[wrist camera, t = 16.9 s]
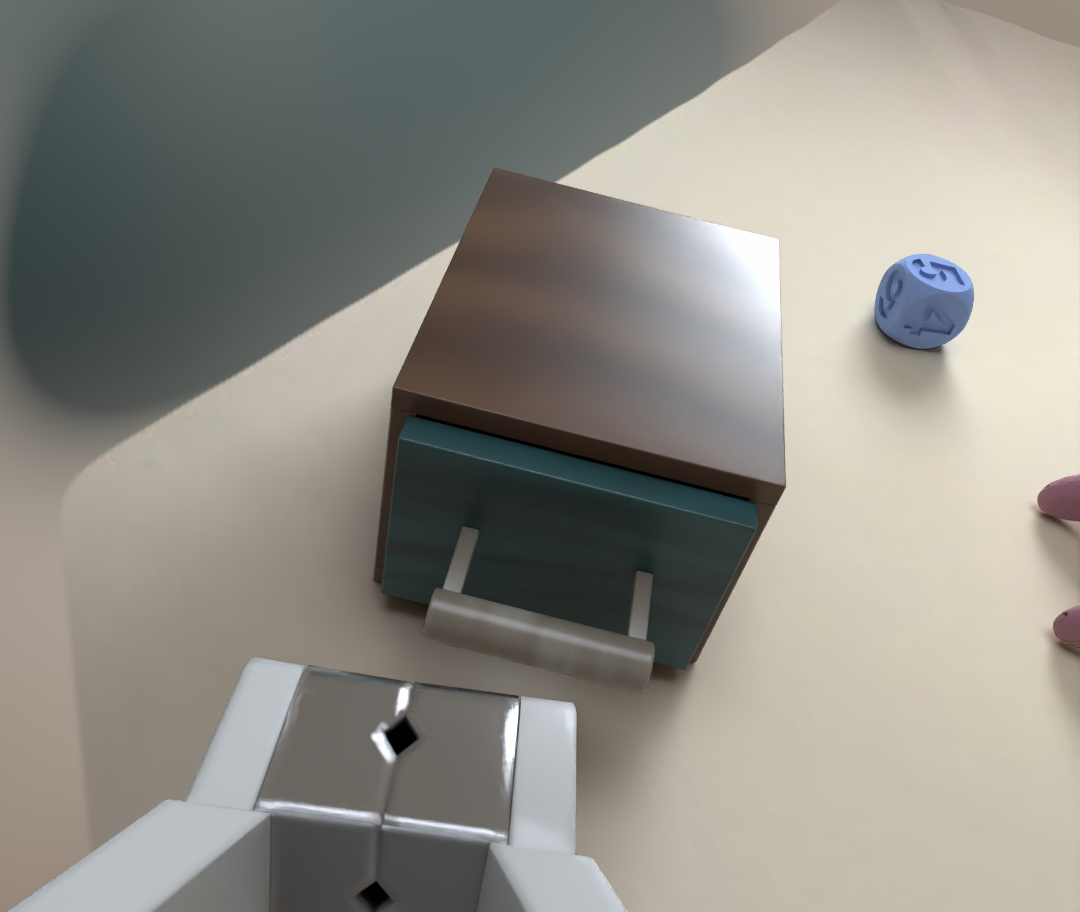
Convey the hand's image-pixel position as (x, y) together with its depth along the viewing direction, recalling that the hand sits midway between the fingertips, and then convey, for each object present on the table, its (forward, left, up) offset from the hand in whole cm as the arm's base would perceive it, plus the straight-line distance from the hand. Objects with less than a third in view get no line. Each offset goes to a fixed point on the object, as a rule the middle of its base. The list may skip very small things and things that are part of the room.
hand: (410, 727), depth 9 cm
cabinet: (+2, +26, -22) cm, 34 cm away
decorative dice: (+20, +46, -22) cm, 55 cm away
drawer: (+2, +22, -21) cm, 30 cm away
